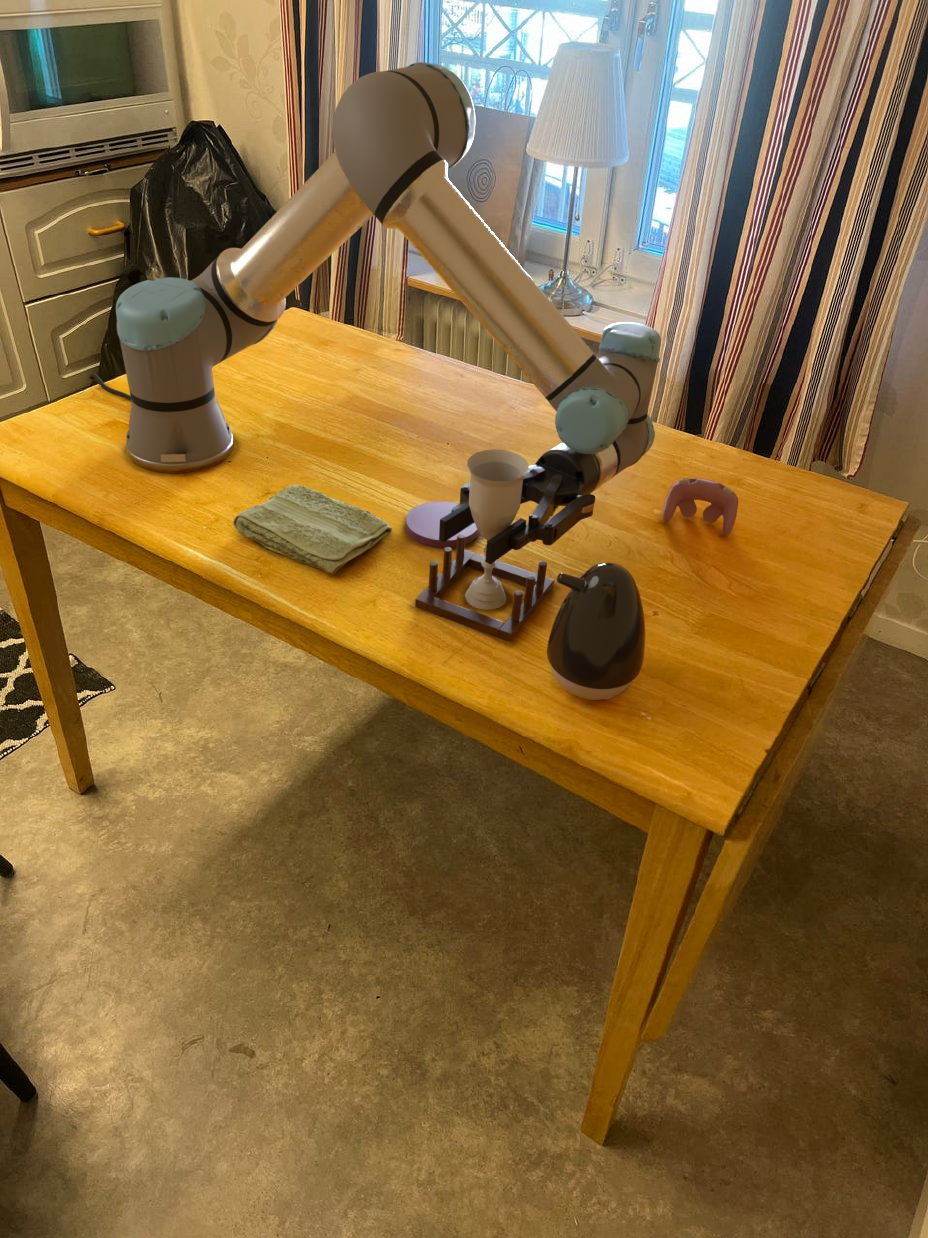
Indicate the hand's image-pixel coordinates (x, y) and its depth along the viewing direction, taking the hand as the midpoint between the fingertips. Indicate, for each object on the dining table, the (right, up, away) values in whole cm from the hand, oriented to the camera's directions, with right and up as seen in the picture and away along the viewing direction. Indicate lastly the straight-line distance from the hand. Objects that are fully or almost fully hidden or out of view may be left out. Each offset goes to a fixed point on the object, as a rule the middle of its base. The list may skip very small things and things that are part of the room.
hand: (465, 541), depth 98 cm
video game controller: (+33, +5, +27) cm, 43 cm away
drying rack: (+3, -6, +10) cm, 12 cm away
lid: (-3, +4, +22) cm, 22 cm away
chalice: (+3, -6, +10) cm, 12 cm away
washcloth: (-20, +2, +18) cm, 27 cm away
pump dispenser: (+13, -16, -1) cm, 21 cm away
